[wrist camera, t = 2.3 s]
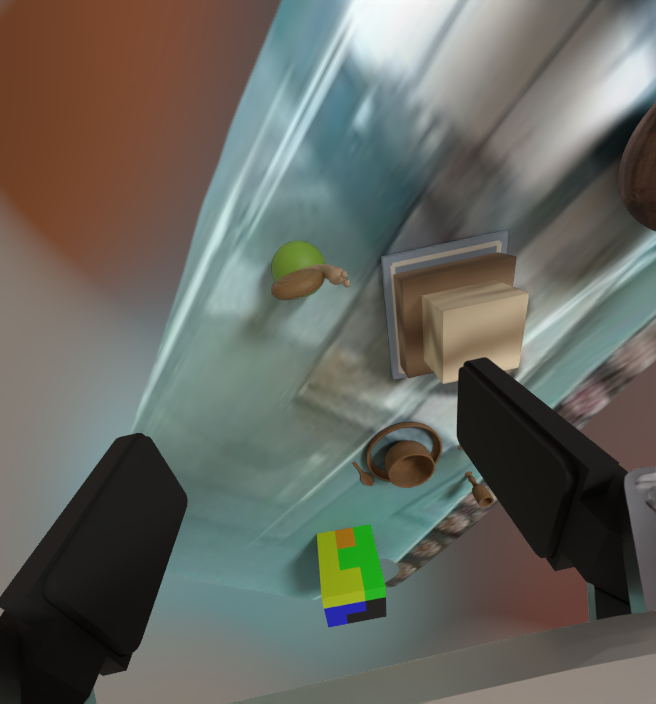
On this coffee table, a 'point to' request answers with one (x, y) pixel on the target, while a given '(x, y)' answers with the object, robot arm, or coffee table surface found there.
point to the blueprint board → (426, 259)
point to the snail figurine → (302, 271)
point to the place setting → (413, 463)
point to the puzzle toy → (350, 576)
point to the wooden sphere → (640, 171)
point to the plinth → (436, 283)
